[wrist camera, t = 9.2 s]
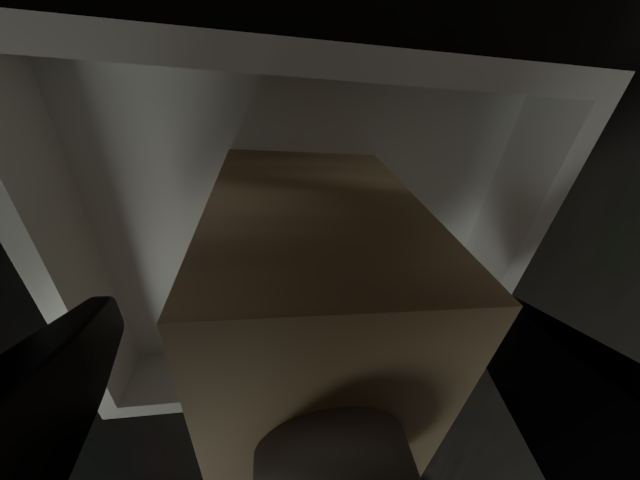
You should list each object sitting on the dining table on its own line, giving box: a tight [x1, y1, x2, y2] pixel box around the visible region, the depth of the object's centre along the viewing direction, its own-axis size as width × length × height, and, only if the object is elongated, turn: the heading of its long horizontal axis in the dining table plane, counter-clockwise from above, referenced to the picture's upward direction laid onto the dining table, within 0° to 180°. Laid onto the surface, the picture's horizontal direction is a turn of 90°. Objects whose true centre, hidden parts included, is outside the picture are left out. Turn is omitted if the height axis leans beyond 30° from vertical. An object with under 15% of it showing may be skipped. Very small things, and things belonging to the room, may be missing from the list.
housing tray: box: [0, 7, 636, 419], centre depth 9 cm, size 13×11×2 cm
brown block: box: [157, 149, 523, 480], centre depth 7 cm, size 4×6×7 cm, turn 175°
